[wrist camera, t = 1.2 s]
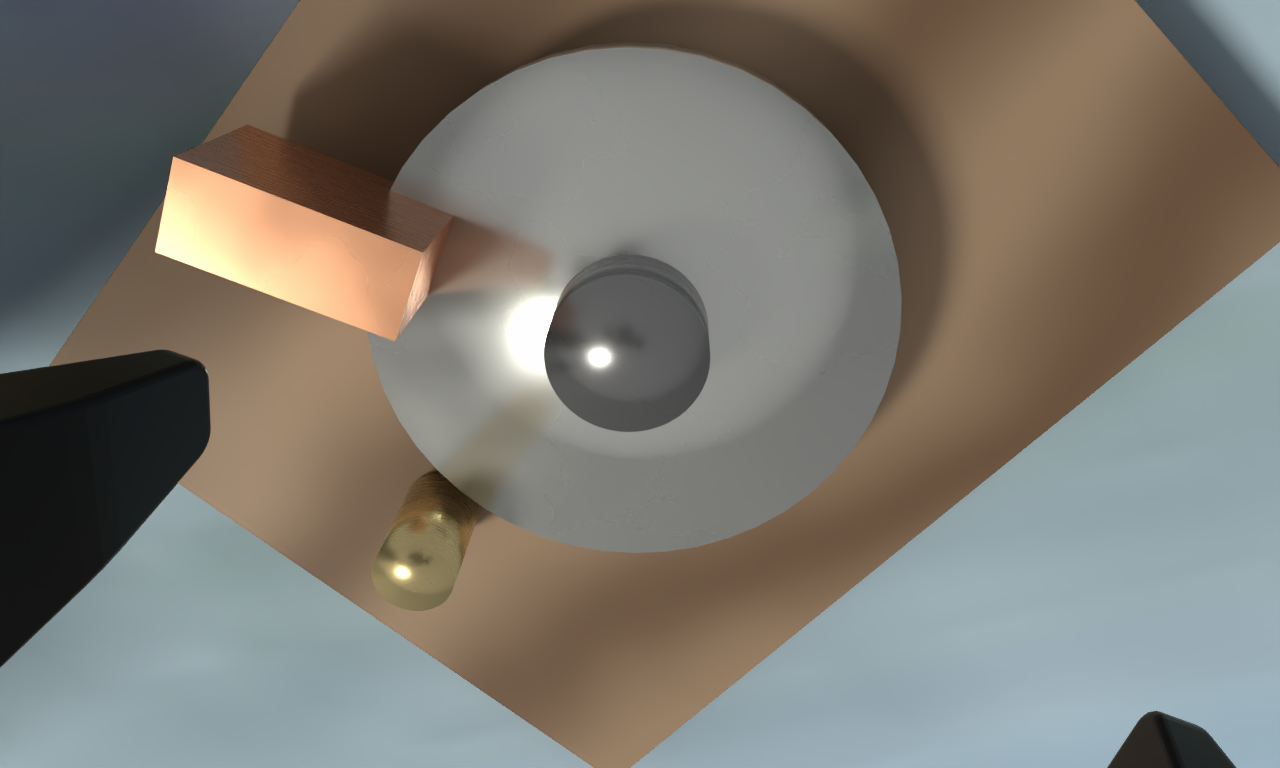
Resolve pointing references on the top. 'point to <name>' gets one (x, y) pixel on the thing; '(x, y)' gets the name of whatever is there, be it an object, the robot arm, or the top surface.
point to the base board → (927, 348)
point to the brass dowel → (425, 544)
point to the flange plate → (677, 203)
